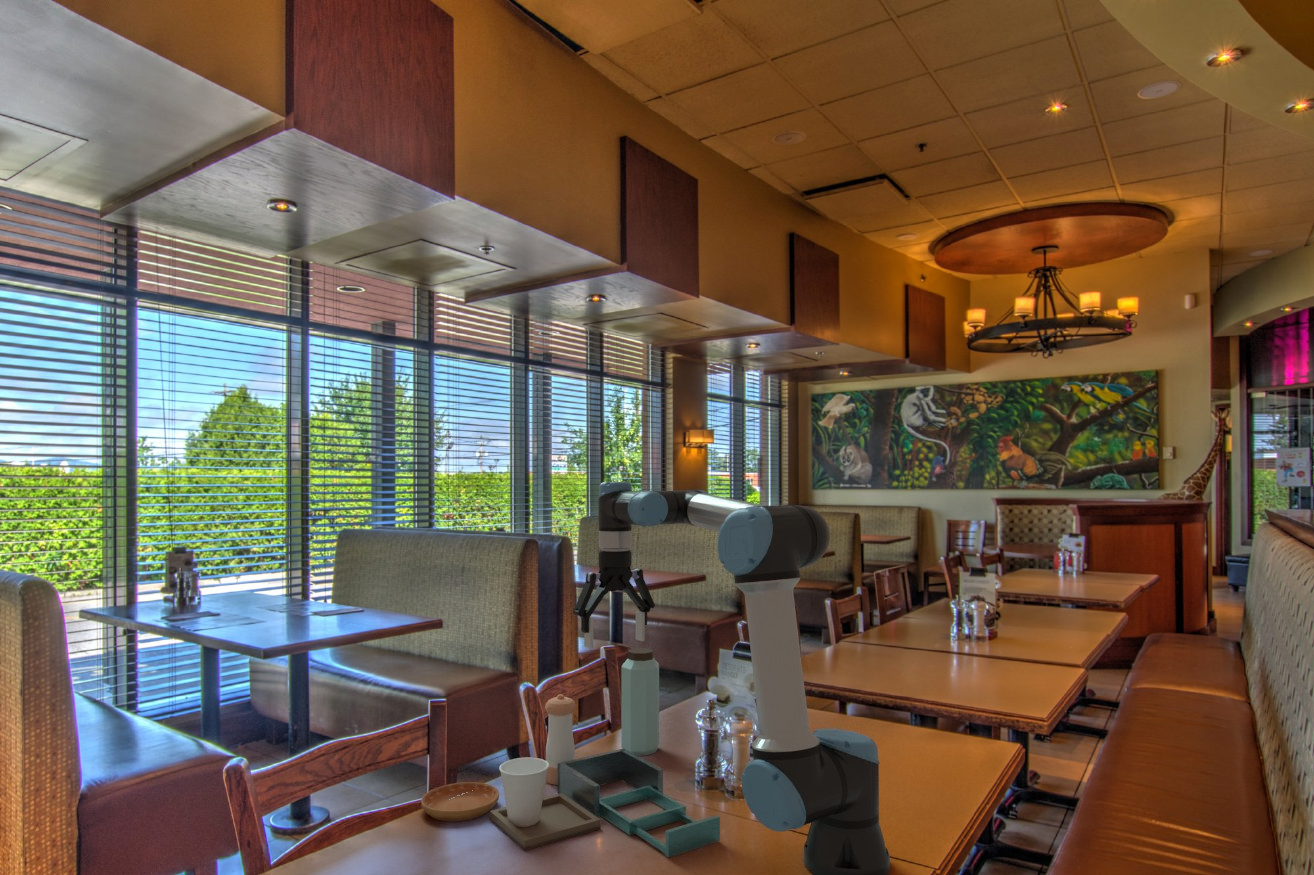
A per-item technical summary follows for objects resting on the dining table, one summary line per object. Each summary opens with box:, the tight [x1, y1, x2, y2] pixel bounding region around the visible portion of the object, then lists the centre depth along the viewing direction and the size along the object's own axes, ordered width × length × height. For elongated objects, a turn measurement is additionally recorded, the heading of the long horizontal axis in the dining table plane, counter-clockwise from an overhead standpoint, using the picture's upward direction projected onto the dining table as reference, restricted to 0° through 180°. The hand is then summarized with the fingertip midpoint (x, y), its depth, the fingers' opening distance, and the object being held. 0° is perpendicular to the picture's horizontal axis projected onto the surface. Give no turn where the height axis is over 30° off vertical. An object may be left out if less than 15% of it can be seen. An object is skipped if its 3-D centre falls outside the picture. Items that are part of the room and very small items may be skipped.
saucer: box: [420, 781, 500, 822], centre depth 171 cm, size 16×16×3 cm
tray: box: [489, 793, 602, 851], centre depth 163 cm, size 16×16×2 cm
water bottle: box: [620, 647, 660, 756], centre depth 208 cm, size 10×10×25 cm
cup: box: [498, 756, 549, 827], centre depth 163 cm, size 10×10×11 cm
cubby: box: [556, 748, 664, 819], centre depth 177 cm, size 16×17×6 cm
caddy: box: [599, 786, 721, 858], centre depth 162 cm, size 26×14×4 cm, turn 34°
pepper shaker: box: [544, 693, 577, 786], centre depth 188 cm, size 7×7×19 cm
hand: (614, 643), depth 184 cm, fingers open, 13 cm apart
